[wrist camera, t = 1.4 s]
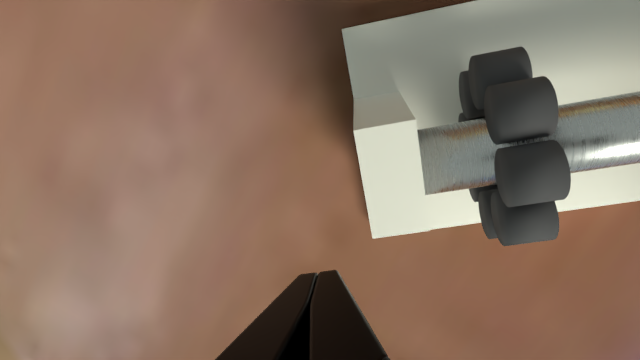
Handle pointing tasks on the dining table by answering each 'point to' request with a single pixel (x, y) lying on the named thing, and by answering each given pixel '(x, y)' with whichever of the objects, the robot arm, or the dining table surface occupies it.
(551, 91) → the black lobed collar
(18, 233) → the dining table surface
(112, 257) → the dining table surface
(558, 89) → the base board
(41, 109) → the dining table surface
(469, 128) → the pipe
